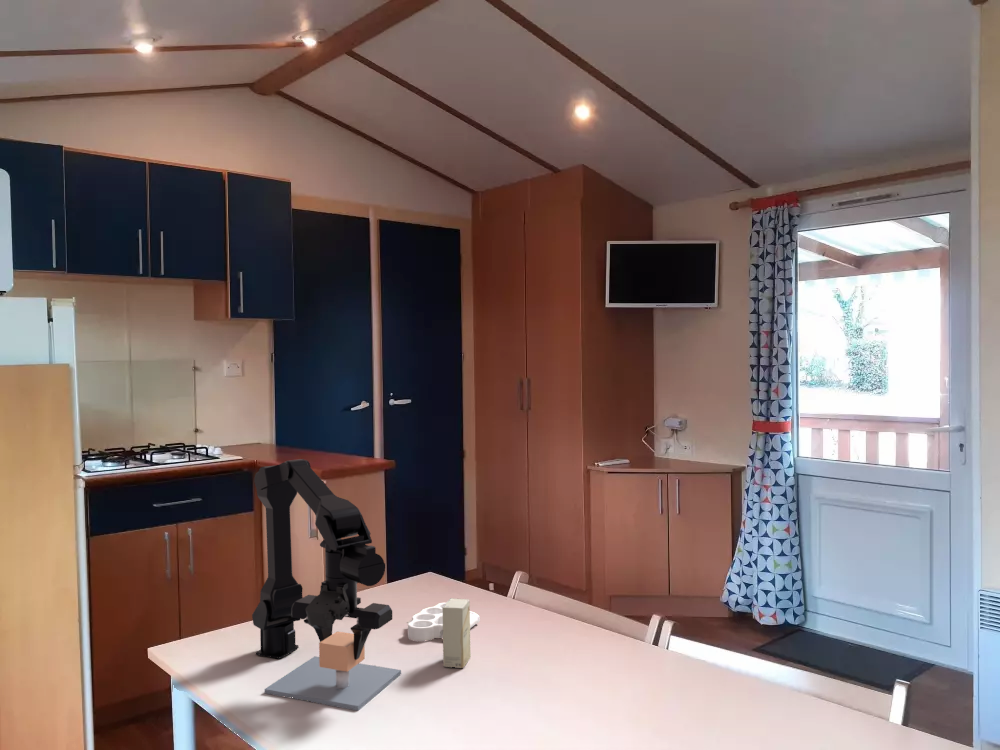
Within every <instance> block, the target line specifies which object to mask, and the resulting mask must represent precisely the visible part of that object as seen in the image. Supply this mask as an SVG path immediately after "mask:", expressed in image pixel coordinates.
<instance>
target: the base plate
mask: <svg viewBox="0 0 1000 750" xmlns="http://www.w3.org/2000/svg"><path fill="white" fill-rule="evenodd" d="M400 674H401V675H402V670H401V669H398V668H397V669H396V668H390V667H385V666H377V665H373V664H372V665H371V664H365V663H361V662H360V663H358V664H357V665H356V666H354V667H353V668H352V669H350V670H349V671H348V672H347V671H341V670H335V669H329V668H323V667H319V656H317V655H315V656H313V657H311V658H309V659H308V660H306V661H305V662H304V663H302V664H301V665H299V666H297V667H296V668H294V669H293V670H291V671H290V672H288V673H287V674H286V675H284V676H283V677H281V678H279V679H278V680H276V681H275V682H273V683H271V684H270V685H269V686H267V687H265V688H264V694H266V693H267V694H266V695H271V694H273V695H272V696H276V695H278V696H277V697H282V696H285V697H284V698H287V697H291V698H290V699H293V698H295V699H294V700H298V699H302V700H301V701H303V700H308V701H307V702H309V701H311V703H314V702H317V703H316V704H320V703H322V704H321V705H325V704H326V705H325V706H330V707H331V706H332V707H337V708H343V709H347V710H353V711H359V710H361V709H362V708H363V707H364V706H365V705H367V704H368V703H369V702H371V700H372V699H374V698H375V697H376V696H377V695H379V694H380V693H381V692H382V691H383V690H384V689H385V688H387V687H388V686H389V685H391V683H393V682H394V681H395V680H397V678H398V677H400V676H401V675H400ZM292 697H293V698H292Z"/></svg>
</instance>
